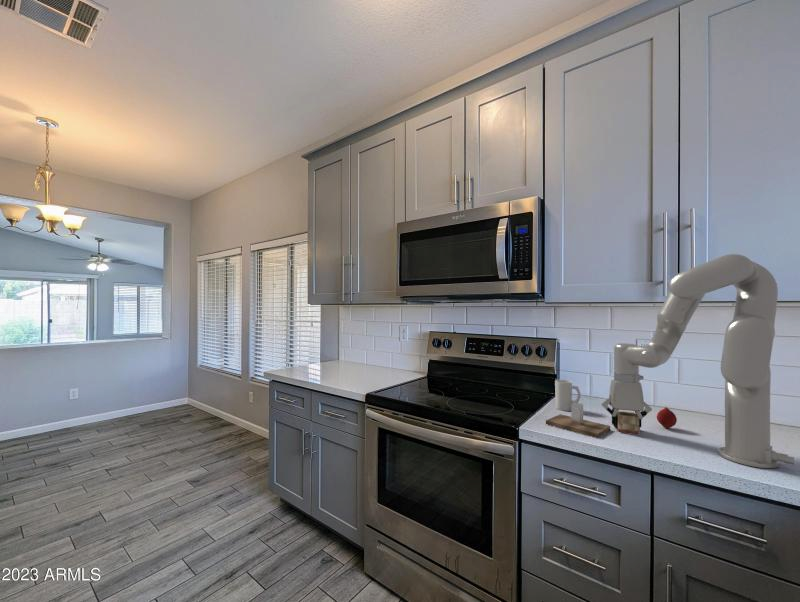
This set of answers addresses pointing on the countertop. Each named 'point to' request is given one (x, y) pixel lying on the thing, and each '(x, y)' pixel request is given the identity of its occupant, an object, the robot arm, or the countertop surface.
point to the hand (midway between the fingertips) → (626, 427)
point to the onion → (666, 418)
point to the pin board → (578, 426)
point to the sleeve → (628, 422)
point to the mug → (565, 394)
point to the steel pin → (577, 413)
